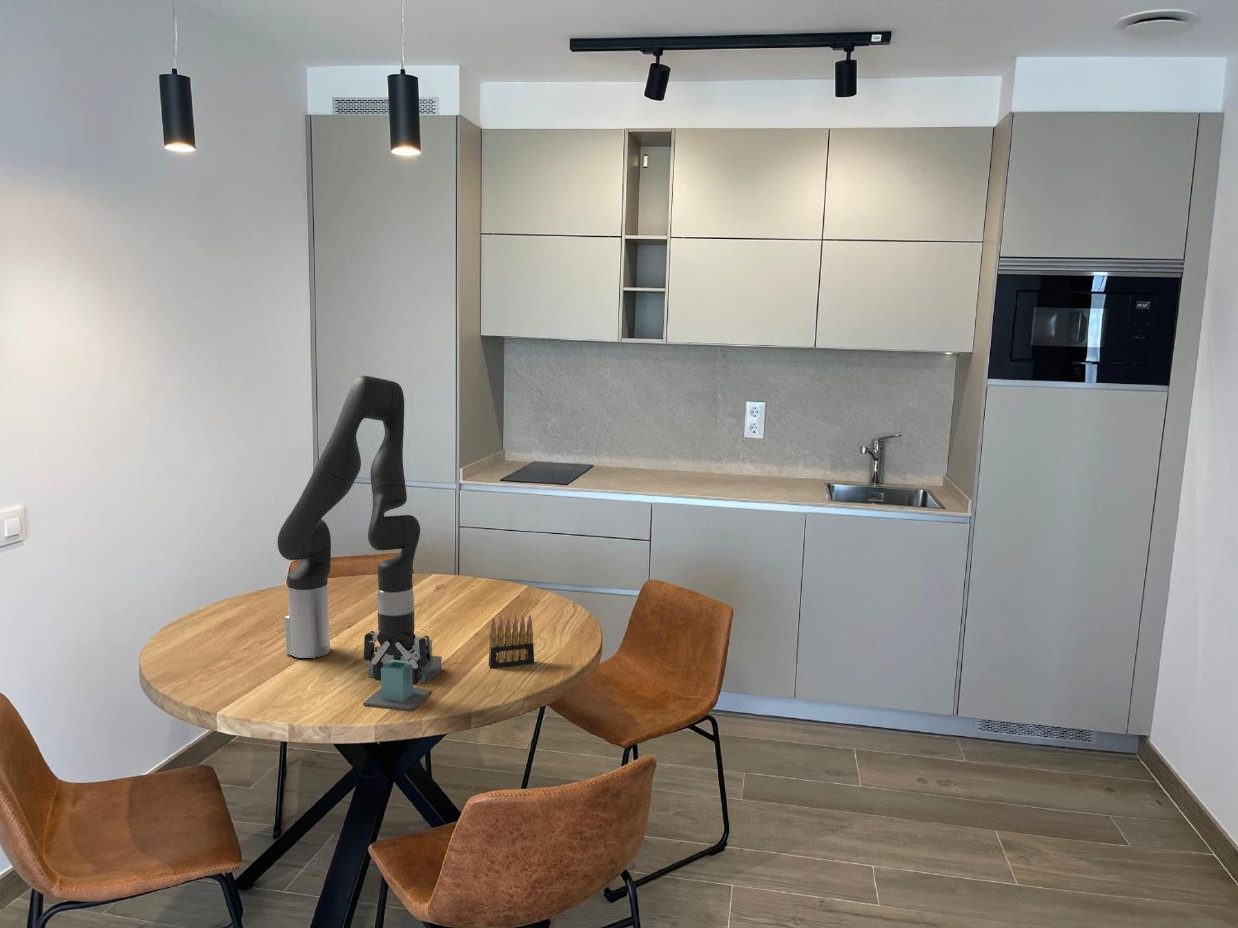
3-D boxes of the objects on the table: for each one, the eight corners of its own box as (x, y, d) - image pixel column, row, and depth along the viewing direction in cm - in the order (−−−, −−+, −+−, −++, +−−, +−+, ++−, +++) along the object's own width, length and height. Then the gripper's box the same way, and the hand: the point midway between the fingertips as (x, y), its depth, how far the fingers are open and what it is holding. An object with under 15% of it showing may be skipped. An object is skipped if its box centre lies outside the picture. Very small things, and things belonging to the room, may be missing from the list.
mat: (363, 705, 188) (363, 702, 188) (385, 687, 197) (385, 684, 197) (411, 710, 185) (411, 708, 185) (431, 692, 195) (431, 689, 195)
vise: (367, 676, 203) (365, 619, 201) (385, 662, 212) (384, 608, 210) (425, 682, 200) (424, 625, 198) (441, 668, 209) (440, 612, 207)
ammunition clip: (532, 660, 215) (532, 612, 213) (534, 663, 213) (534, 615, 211) (488, 665, 211) (488, 617, 209) (490, 668, 209) (489, 619, 208)
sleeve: (381, 699, 190) (380, 667, 188) (392, 690, 194) (391, 659, 193) (403, 701, 188) (402, 670, 187) (413, 692, 193) (413, 661, 192)
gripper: (434, 605, 191) (435, 678, 193) (373, 600, 194) (375, 672, 196) (419, 616, 183) (421, 691, 186) (356, 611, 186) (358, 684, 189)
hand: (397, 681), depth 191 cm, fingers open, 8 cm apart
